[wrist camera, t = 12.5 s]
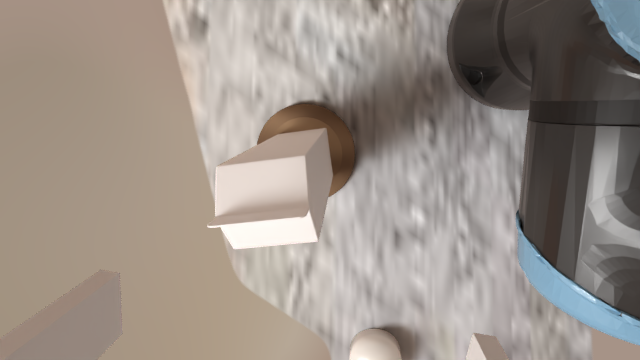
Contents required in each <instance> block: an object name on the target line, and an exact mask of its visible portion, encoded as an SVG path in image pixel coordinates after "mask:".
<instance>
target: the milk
mask: <svg viewBox="0 0 640 360" xmlns="http://www.w3.org/2000/svg"><path fill="white" fill-rule="evenodd" d="M332 178H333V172H332V165H331V157H330V150H329V142H328V135H327V128H320V129H313V130H305V131H298V132H291V133H283V134H277V135H276V136H274V137H272V138H270V139H268V140H266V141H264V142H262V143H260V144H258V145H256V146H254V147H252V148H251V149H249V150H247V151H245V152H243V153H241V154H239V155H237V156H235V157H233V158H231V159H229V160H228V161H226V162H224V163H222V164H220V165H218V166H217V167H216V194H215V218H214V219H213V220H212V221H211V222H210V223H208V225H207V226H208V227H209V228H214V227H221V229H222V230H223V232H224V234H225V235H226V237H227V239H228V240H229V242H230V243H231V245H232V247H233V248H234V249H243V248H254V247H265V246H275V245H286V244H297V243H308V242H317V241H318V240H319V236H320V232H321V227H322V223H323V218H324V214H325V209H326V205H327V200H328V196H329V192H330V187H331V183H332Z"/></svg>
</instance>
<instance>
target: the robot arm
mask: <svg viewBox="0 0 640 360" xmlns="http://www.w3.org/2000/svg"><path fill="white" fill-rule="evenodd" d="M447 53H448V60H449V64H450V67H451V70H452V73H453V75H454V77H455V79H456V80H457V82H458V83H459V85H460V86H461V87H462V89H463V90H464V91H465V92H466V93H467V94H468V95H470V96H471V97H472V98H474V99H475V100H477V101H478V102H480V103H482V104H484V105H487V106H490V107H493V108H498V109H506V110H529V117H528V124H527V134H526V144H525V153H524V163H523V173H522V183H521V193H520V203H519V209H518V211H517V213H516V226H517V229H518V260H519V264H520V266H521V268H522V269H523V271H524V272H525V274H526V277H527V278H528V280H529V282H530V283H531V284H532V285H533V286H534V287H535V289H536V290H537V291H538V292H539V293H540V294H542V295H543V296H544V297H545V298H546V299H547V300H549V301H550V302H551V303H552V304H554V305H555V306H557V307H558V308H559V309H561V310H562V311H564V312H565V313H567V314H569V315H570V316H572V317H574V318H575V319H577V320H579V321H581V322H583V323H584V324H586V325H588V326H590V327H592V328H594V329H596V330H599V331H601V332H603V333H606V334H608V335H611V336H613V337H616V338H618V339H621V340H624V341H627V342H630V343H633V344H637V345H640V0H460V2H459V4H458V6H457V8H456V9H455V12H454V14H453V17H452V19H451V22H450V26H449V31H448V37H447ZM121 335H122V314H121V291H120V273H117V272H111V271H105V270H100V271H98V272H97V273H95V274H94V275H92V276H91V277H89V278H88V279H86V280H85V281H83V282H82V283H81V284H79V285H78V286H76V287H75V288H73V289H72V290H70V291H69V292H67V293H66V294H64V295H63V296H61V297H60V298H58V299H57V300H56V301H54V302H53V303H51V304H50V305H48V306H47V307H45V308H44V309H43V310H41V311H39V312H38V313H36V314H35V315H34V316H32V317H31V318H29V319H28V320H26V321H25V322H24V323H22V324H20V325H19V326H17V327H16V328H14V329H13V330H12V331H10V332H9V333H7V334H6V335H4V336H3V337H1V338H0V360H97V359H98V358H99V357H100V356H101V355H102V354H103V353H104V352H105V351H106V350H107V349H108V348H109V347H110V346H111V345H112V344H113V343H114V342H115V341H116V340H117V339H118V338H119V337H120V336H121ZM466 360H509V359H508V357H507V355H506V354H505V352H504V350H503V348H502V347H501V345H500V343H499V342H498V340H497V338H496V337H495V336H489V335H483V334H477V333H473V335H472V339H471V342H470V346H469V350H468V353H467V357H466Z"/></svg>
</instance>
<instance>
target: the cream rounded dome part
mask: <svg viewBox="0 0 640 360" xmlns="http://www.w3.org/2000/svg"><path fill="white" fill-rule="evenodd" d="M350 360H402V359H401V353H400V347H399V343H398V341H397V340H396V338H395V337H394V336H393V335H392V334H390V333H389V332H387V331H385V330H382V329H376V328H372V329H366V330H363V331H361V332H359V333H358V334H357V335H356V336H355V337H354V338H353V340H352V341H351V344H350Z"/></svg>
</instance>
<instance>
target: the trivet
mask: <svg viewBox="0 0 640 360" xmlns="http://www.w3.org/2000/svg"><path fill="white" fill-rule="evenodd" d="M320 128H327V135H328V142H329V150H330V157H331V165H332V172H333V178H332V183H331V187H330V192H329V196H328V197H330V196H331V195H333V194H334V193H336V192H337V191H338V190H339V189H341V188H342V186H343V185H344V184H345V183H346V181H347V180H348V178H349V176H350V174H351V172H352V169H353V166H354V160H355V149H354V142H353V139H352V136H351V133H350V131H349V129H348V128H347V126H346V125H345V123H344V122H343V121H342V120H341V119H340V118H339V117H338V116H337V115H336V114H334V113H333V112H331V111H330V110H328V109H326V108H324V107H321V106H317V105H312V104H298V105H293V106H289V107H287V108H284V109H282V110H280V111H279V112H277V113H276V114H275V115H273V116H272V117H271V118H270V119H269V120H268V121H267V123H266V124H265V125H264V127H263V129H262V131H261V133H260V135H259V138H258V142H257V145H258V144H260V143H262V142H264V141H266V140H268V139H270V138H272V137H274V136H276V135H277V134H283V133H291V132H298V131H305V130H313V129H320Z"/></svg>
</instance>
